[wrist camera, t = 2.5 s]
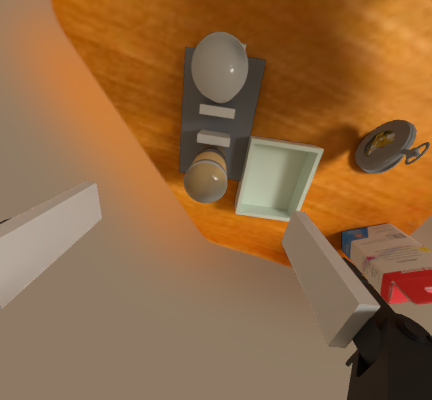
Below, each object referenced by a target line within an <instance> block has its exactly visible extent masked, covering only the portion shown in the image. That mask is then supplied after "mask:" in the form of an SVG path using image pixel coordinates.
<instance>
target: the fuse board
mask: <svg viewBox="0 0 432 400" xmlns="http://www.w3.org/2000/svg"><path fill="white" fill-rule="evenodd" d="M241 44H242V43H241ZM242 45H243V47H244V49H245V50H246V44H242ZM195 49H196V48H190V47H185V64H184V83H183V103H182V122H181V142H180V161H179V172H182V173H186V172H187V170H188V169H189V167H190V166H191V165H192V163H193V160H194V159H195V157H196V155H197V154H198V152H199V151H200V149H201V148H202V146H203V145H204V144H211V145H218V146H223V147H224V149H225V152H226V165H227V171H226V174H227V179H230V180H237V181H241V176H242V171H243V167H244V162H245V157H246V152H247V148H248V143H249V138H250V134H251V129H252V124H253V120H254V115H255V110H256V106H257V101H258V96H259V91H260V87H261V82H262V77H263V73H264V68H265V63H266V60H263V59H257V58H251V57H247V58H248V74H247V78H246V80H245V83H244V85H243V87H242V88H241V90H240V91H239V92H238V93H237V94H236V95H235V96H234V97H233V98H232V99H231V100H230V101H229V102H227V103H224V104H219V103H216V102H214V101H212V100H211V99H209V98H207V97H206V96H204V95H203V94H202V93H201V92H200V91H199V90H198V88H197V86H196V85H195V82H194V80H193V76H192V70H191V63H192V57H193V54H194V51H195Z"/></svg>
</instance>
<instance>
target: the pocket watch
mask: <svg viewBox="0 0 432 400" xmlns="http://www.w3.org/2000/svg"><path fill="white" fill-rule="evenodd" d="M416 132H417V130H416V128H415V126H414V125H413V124H411V123H410V122H407V121H404V120H393V121H390V122H387V123H385V124H382V125H381V126H379V127H377V128H376V129H374V130H373V131H372V132H370V133H369V134H368V135H367V136H366V137H365V138H364V139H363V140H362V142H361V143H360V144H359V146H358V148H357V150H356V153H355V161H356V163H357V164H358V166H359V167H360V168H361V169H362V170H363V171H365V172H367V173H371V174H378V173H383V172H386V171H388V170H389V169H391V168H393V167H394V166H396V165H397V164H398V163H399V162H400V161H401V159H402V158H403V157H404V155H405V154H406V160H405V164H406V165H409V164H411V163H413V162H415V161H416V160H418V159H419V158H420V157H421V156H422V155H423V154H424V153H425V152H426V151H427V150H428V148H429V146H430V143H429V142H426V143H424V144H421V145H420V146H418V147H417V148H413V149H411V150H408V149H409V148H410V147H411V146H412V144H413V142H414V140H415V138H416ZM424 145H426V148H425V150H424V151H423V152H422V153H421V154H420V155H419V152H418V151H419V150H418V149H419V148H420V147H422V146H424ZM418 155H419V156H418ZM414 156H415V157H416V156H418V157H417V158H416V159H414V160H412V161H411V162H408V160H409V158H412V157H414Z"/></svg>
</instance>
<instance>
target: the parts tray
mask: <svg viewBox="0 0 432 400" xmlns="http://www.w3.org/2000/svg"><path fill="white" fill-rule="evenodd" d="M323 151H324V149H322V148H320V147H317V146H315V145H312V144H305V143H299V142H292V141H286V140H279V139H273V138H266V137H260V136H253V135H250V138H249V143H248V148H247V152H246V157H245V162H244V167H243V171H242V176H241V181H239V184H238V188H237V193H236V198H235V203H234V206H235V214H239V215H246V216H253V217H260V218H267V219H274V220H281V221H288V222H289V221H290V218H291V216H292V213H293V210H295V211H300V209H301V206H302V204H303V201H304V199H305V196H306V194H307V191H308V189H309V186H310V184H311V181H312V179H313V176H314V174H315V171H316V169H317V166H318V164H319V161H320V159H321V156H322V154H323Z"/></svg>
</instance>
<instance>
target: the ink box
mask: <svg viewBox="0 0 432 400" xmlns="http://www.w3.org/2000/svg"><path fill="white" fill-rule="evenodd" d="M342 251H343V252H344V253H345V254H346V255H347V257H348V258H349V259H350V260H351V261H352V262H353V264H354V265H355V266H356V267H357V268H358V269H359V271H360V272H361V273H362V274H363V275H364V276H365V278H366V279H367V280H368V281H369V282H370V283H371V284H372V286H373V287H374V288H375V289H376V290H377V291H378V293H379V294H380V295H381V296H382V297H383V298H384V300H385V301H386V302H387V303H388V304H394V303H402V302H411V303H413V304H415V305H420V304H428V303H432V251H430V250H429V249H427V248H426V247H424V246H423V245H421V244H420V243H418V242H417V241H416V240H414V239H412V238H411V237H410V236H408V235H407V234H405V233H404V232H402V231H401V230H399V229H398V228H396V227H395V226H393V225H392V224H390V223H387V224H381V225H376V226H370V227H365V228H359V229H354V230H349V231H343V232H342Z"/></svg>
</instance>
